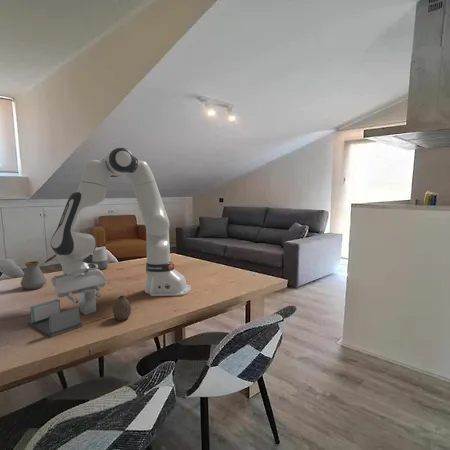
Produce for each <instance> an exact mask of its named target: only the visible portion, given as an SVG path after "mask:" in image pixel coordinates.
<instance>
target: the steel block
mask: <svg viewBox="0 0 450 450" xmlns="http://www.w3.org/2000/svg"><path fill="white" fill-rule="evenodd" d="M95 294H96V290H95V289H91V288H88V289H83V290H79V293H78V295H79V313H82V314H84V315H85V314H86V315H89V314H92V313H95V312H97V298H96V295H95Z"/></svg>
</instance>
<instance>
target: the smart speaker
mask: <svg viewBox="0 0 450 450" xmlns="http://www.w3.org/2000/svg"><path fill="white" fill-rule="evenodd" d="M91 264H97V265H98V269H99V270H101V271H102V270H106V269H107V268H108V266H109V260H108V253H107V247H106V246H105V245H104V246H101V247H98V248H97V247H96V249H95V251H94V252H93V253H92V260H91Z"/></svg>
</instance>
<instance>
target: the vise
mask: <svg viewBox="0 0 450 450" xmlns="http://www.w3.org/2000/svg"><path fill="white" fill-rule="evenodd" d="M27 323H28V325H29V326H31V327H33V328H34V329H36V330H38V331H40V333H43V334H44V335H46V336H48V337H49V338H54V337H57V336H60V335H62V334H65V333H68V332H71V331H73V330H75V329H80V328H82V327H83V323H81V319H80V307H78V306H77V307H73V308H70V309H67V310H63V311H61V312H59V313H56V314H53V315H49V316H48V319H45V320H41V321H38V322H35V323H32V322H31V320H29V321H28V322H27Z"/></svg>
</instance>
